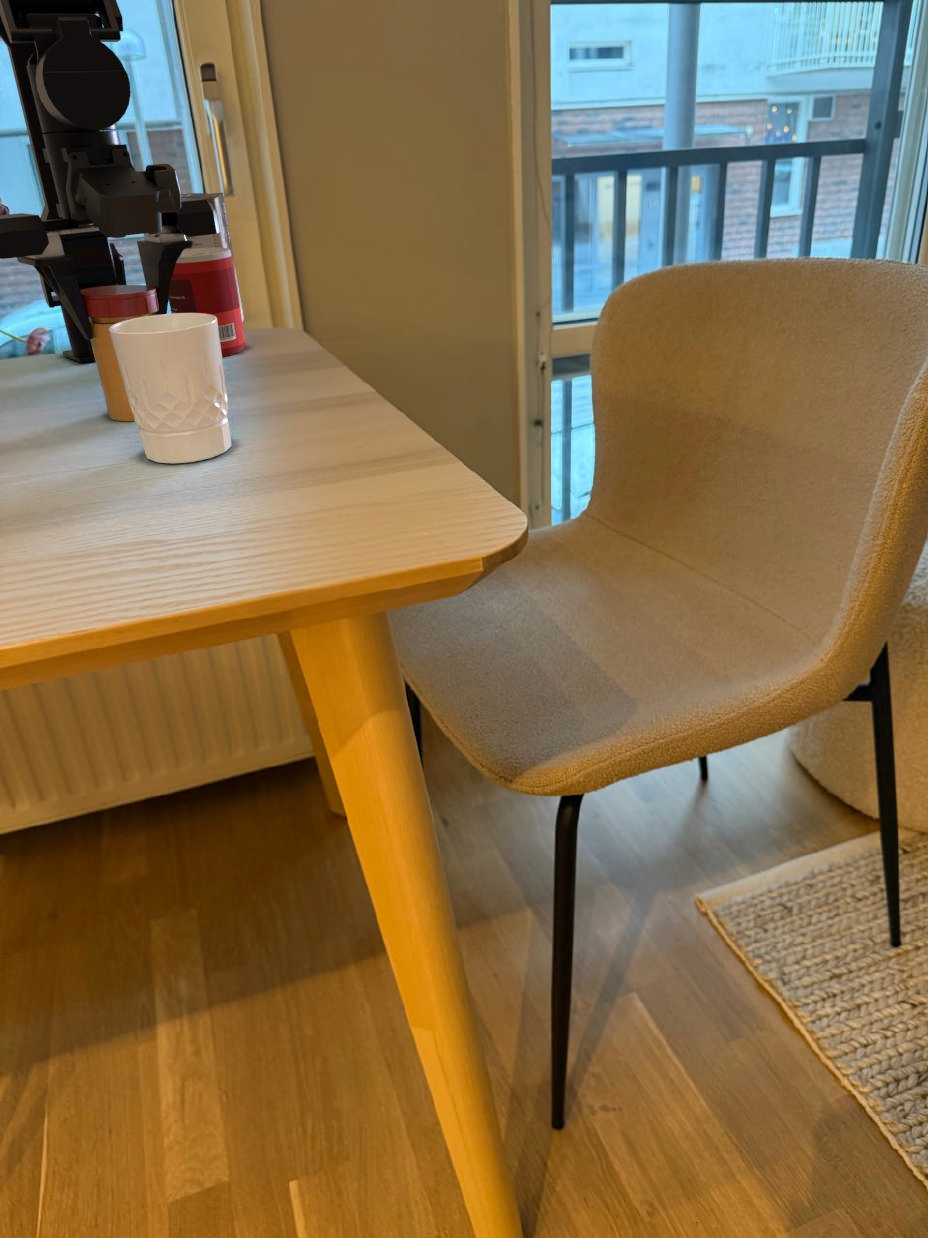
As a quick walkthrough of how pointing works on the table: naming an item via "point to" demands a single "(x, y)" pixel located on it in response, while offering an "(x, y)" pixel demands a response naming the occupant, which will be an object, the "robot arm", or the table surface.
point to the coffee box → (224, 236)
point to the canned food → (209, 292)
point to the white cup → (175, 384)
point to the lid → (120, 301)
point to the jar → (110, 368)
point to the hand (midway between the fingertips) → (125, 332)
